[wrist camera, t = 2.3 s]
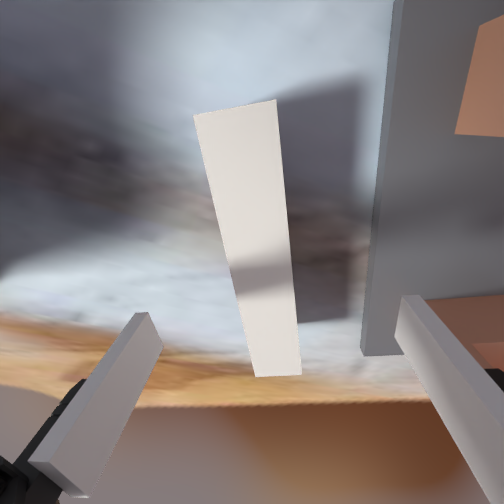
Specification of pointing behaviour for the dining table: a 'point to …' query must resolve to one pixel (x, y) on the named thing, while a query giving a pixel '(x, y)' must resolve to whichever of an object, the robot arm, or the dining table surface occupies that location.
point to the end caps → (441, 177)
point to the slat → (254, 228)
